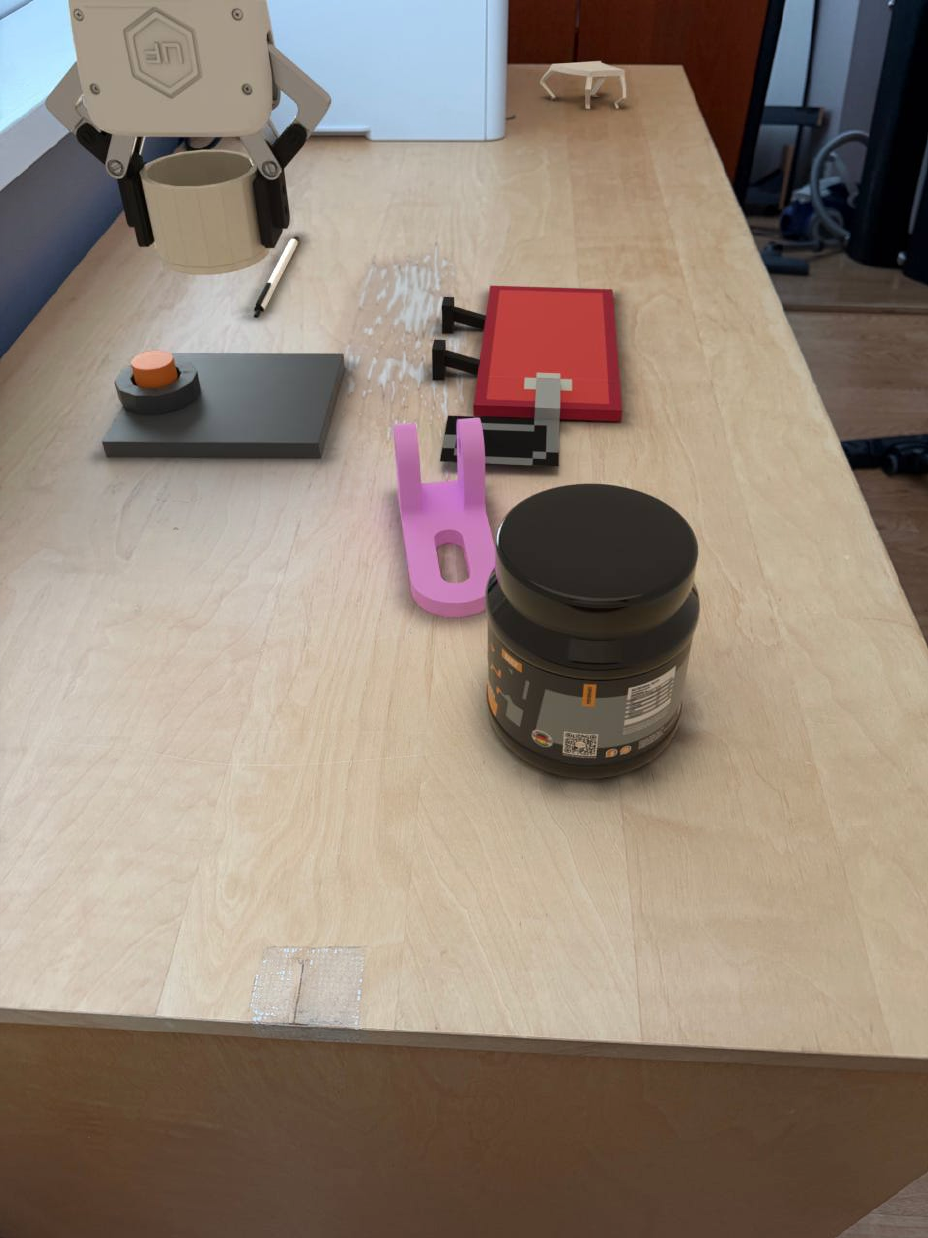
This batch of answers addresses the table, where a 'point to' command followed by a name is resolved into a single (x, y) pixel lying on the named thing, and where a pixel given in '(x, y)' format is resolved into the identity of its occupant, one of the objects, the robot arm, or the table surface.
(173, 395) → the dark grey flat block
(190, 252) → the cup
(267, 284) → the pen
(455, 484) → the bracket
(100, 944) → the table surface
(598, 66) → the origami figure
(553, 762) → the supplement container
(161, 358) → the button
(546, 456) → the red board with handle
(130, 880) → the table surface
